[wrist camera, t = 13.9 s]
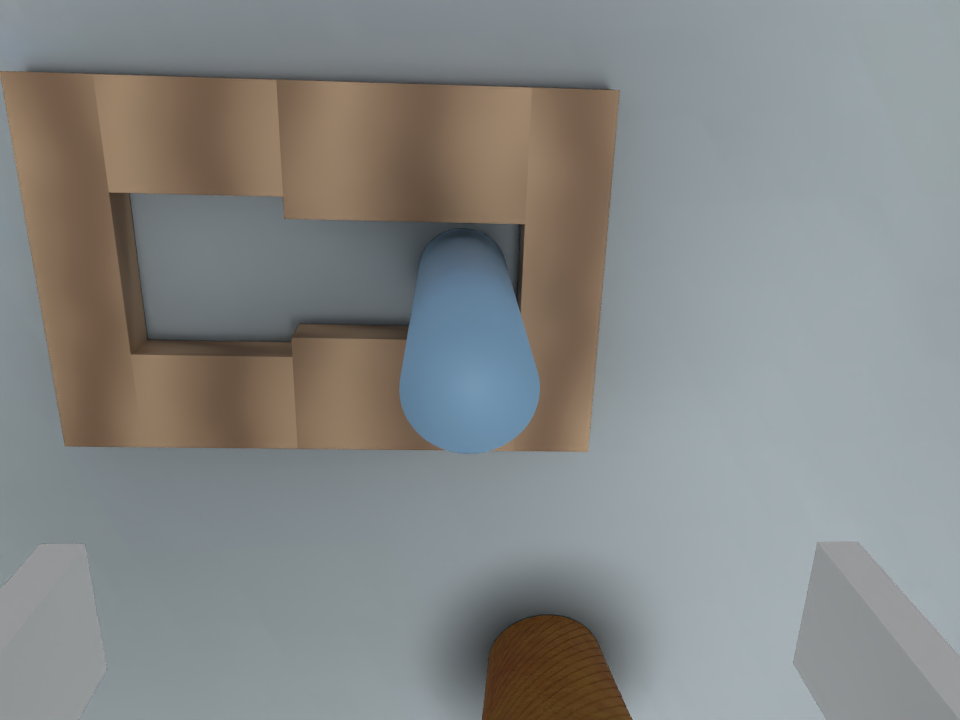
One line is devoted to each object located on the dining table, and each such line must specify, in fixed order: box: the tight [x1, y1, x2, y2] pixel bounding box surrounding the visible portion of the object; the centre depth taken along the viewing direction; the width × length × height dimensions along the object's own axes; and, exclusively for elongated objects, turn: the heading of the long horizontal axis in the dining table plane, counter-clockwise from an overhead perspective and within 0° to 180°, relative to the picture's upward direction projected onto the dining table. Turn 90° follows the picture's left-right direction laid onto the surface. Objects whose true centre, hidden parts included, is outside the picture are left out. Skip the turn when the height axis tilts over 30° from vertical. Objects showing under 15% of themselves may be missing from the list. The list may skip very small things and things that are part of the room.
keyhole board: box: [0, 71, 620, 452], centre depth 34 cm, size 24×16×2 cm, turn 88°
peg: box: [399, 229, 540, 454], centre depth 29 cm, size 4×4×14 cm
